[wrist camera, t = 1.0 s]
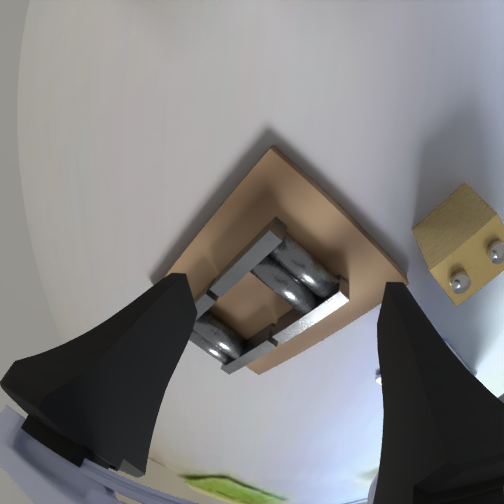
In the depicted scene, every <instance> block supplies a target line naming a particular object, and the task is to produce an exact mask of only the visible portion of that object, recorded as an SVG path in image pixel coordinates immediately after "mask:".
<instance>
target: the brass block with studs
mask: <svg viewBox="0 0 504 504" xmlns="http://www.w3.org/2000/svg"><path fill="white" fill-rule="evenodd" d="M412 231H413V233H414V235H415V238H416V240H417V242H418V245H419V247H420V250H421V252H422V254H423V257H424V259H425V262H426V264H427V267H428V270H429V272H430V273H431V274H432V275H433V277H434V278H435V279H436V280H437V282H438V283H439V284H440V286H441V287H442V288H443V289H444V291H445V292H446V293H447V295H448V296H449V297H450V299H451V300H452V301H453V303H454V304H455V306H458V305H459V304H460V303H462V302H463V301H465V300H466V299H467V298H469V297H470V296H471V295H473V294H474V293H475V292H477V291H478V290H479V289H481V288H482V287H483V286H485V285H486V284H487V283H488V282H490V281H491V280H492V279H493V278H495V277H496V276H497V275H498V274H500V273H501V272H502V271H503V270H504V226H503V224H502V222H501V220H500V218H499V216H498V214H497V213H496V212H495V211H494V210H493V209H492V208H491V207H490V206H489V205H488V204H487V203H486V202H485V201H484V200H483V199H482V198H481V197H480V196H479V195H478V194H477V193H476V192H475V191H474V190H473V189H471V188H470V187H469V186H468V185H467V184H466V183H464V184H463V185H462V186H460V187H459V188H458V189H457V190H456V191H455V192H454V193H453V194H452V195H450V196H449V197H448V198H447V199H446V200H445V201H444V202H443V203H441V204H440V205H439V206H438V207H437V208H436V209H435V210H433V211H432V212H431V213H430V214H429V215H428V216H426V217H425V218H424V219H423V220H422V221H421V222H419V223H418V224H417V225H416V226H415V227H413V228H412Z"/></svg>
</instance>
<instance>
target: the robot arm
mask: <svg viewBox="0 0 504 504" xmlns="http://www.w3.org/2000/svg"><path fill="white" fill-rule="evenodd" d="M197 314H198V312H197V309H196V306H195V302H194V299H193V296H192V292H191V289H190V286H189V282H188V279H187V275H186V273H171V274H169V275H167V276H166V277H165V278H163V279H162V280H160V281H159V282H158V283H156V284H155V285H154V286H152V287H151V288H150V289H149V290H147V291H146V292H145V293H143V294H142V295H141V296H139V297H138V298H137V299H135V300H134V301H133V302H132V303H130V304H129V305H127V306H126V307H125V308H123V309H122V310H120V311H119V312H118V313H116V314H115V315H113V316H112V317H111V318H109V319H108V320H106V321H105V322H103V323H101V324H100V325H98V326H97V327H95V328H93V329H92V330H90V331H88V332H86V333H85V334H83V335H81V336H79V337H77V338H75V339H73V340H71V341H69V342H67V343H65V344H63V345H60V346H58V347H56V348H53V349H51V350H48V351H46V352H43V353H41V354H38V355H35V356H31V357H27V358H24V359H21V360H17V361H15V362H14V363H13V364H12V366H11V367H10V369H9V370H8V371H7V373H6V374H5V376H4V377H3V379H2V380H1V381H0V385H1V387H2V389H3V390H4V391H5V392H6V393H7V394H8V395H9V396H10V397H11V398H12V399H13V400H14V401H15V402H16V403H17V404H18V405H19V406H20V407H21V408H22V409H23V410H24V411H25V412H26V413H27V414H29V415H28V416H27V418H26V419H25V418H24V417H23V416H21V415H20V414H19V413H17V412H16V411H14V410H13V409H12V408H11V407H10V406H8V405H5V407H4V409H3V411H2V412H1V413H0V466H1V468H2V469H3V470H4V471H5V472H6V473H7V475H8V476H9V477H10V478H11V480H12V481H13V482H14V483H15V484H16V485H17V487H18V488H19V489H20V490H21V491H22V492H23V493H24V494H25V496H26V497H27V498H28V499H29V500H30V501H31V502H32V503H33V504H127V503H124V502H122V501H120V500H118V499H117V498H116V496H115V493H114V491H116V492H118V493H120V494H122V495H124V496H126V497H128V498H131V499H133V500H135V501H138V502H140V503H142V504H198V503H195V502H191V501H188V500H185V499H181V498H178V497H175V496H172V495H169V494H166V493H163V492H160V491H158V490H155V489H152V488H150V487H147V486H144V485H141V484H139V483H137V482H134V481H132V480H129V479H127V478H125V477H123V476H120V475H118V474H116V473H114V472H112V471H109V470H108V468H111V469H113V470H115V471H118V470H120V471H123V472H125V473H127V474H130V475H132V476H135V477H141V476H143V475H145V472H146V465H147V459H148V453H149V448H150V443H151V439H152V435H153V430H154V426H155V423H156V419H157V416H158V412H159V409H160V406H161V402H162V399H163V396H164V393H165V390H166V388H167V385H168V383H169V381H170V378H171V376H172V374H173V372H174V370H175V368H176V366H177V364H178V362H179V359H180V357H181V355H182V353H183V351H184V349H185V347H186V345H187V343H188V340H189V338H190V336H191V333H192V330H193V327H194V324H195V321H196V317H197ZM377 342H378V357H379V365H380V374H379V375H377V376H376V382H377V383H379V384H380V385H381V386H382V393H383V408H384V418H383V437H382V448H381V458H380V466H379V472H378V474H377V475H376V477H375V478H374V480H373V481H372V483H371V486H370V489H369V494H368V504H504V403H503V402H501V401H500V400H499V399H498V398H497V397H496V396H494V395H493V394H492V393H491V392H490V391H489V390H488V389H487V388H486V387H485V386H484V385H483V384H482V383H481V382H480V381H479V380H478V379H477V378H476V377H475V376H474V375H473V374H472V372H471V371H470V370H469V369H468V367H467V366H466V365H465V364H464V362H463V361H462V360H461V359H460V357H459V356H458V355H457V354H456V352H455V351H454V350H453V349H452V347H451V346H450V345H449V344H448V343H447V341H445V340H443V339H442V338H441V336H440V335H439V334H438V332H437V331H436V329H435V328H434V327H433V325H432V324H431V322H430V321H429V320H428V318H427V317H426V315H425V314H424V312H423V311H422V309H421V308H420V306H419V305H418V303H417V302H416V300H415V299H414V297H413V296H412V294H411V293H410V291H409V290H408V288H407V287H406V286H405V284H404V283H403V282H386V285H385V290H384V295H383V300H382V305H381V309H380V314H379V318H378V322H377Z"/></svg>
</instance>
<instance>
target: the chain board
mask: <svg viewBox="0 0 504 504" xmlns="http://www.w3.org/2000/svg"><path fill="white" fill-rule="evenodd" d="M275 216H276V217H277V218H279V219H280V220H281V221H282V222H283V223H284V224H285V225H287V229H286V232H287V233H288V234H290V235H291V236H292V237H293V238H294V239H295V240H296V241H298V242H299V243H300V244H301V245H302V246H303V247H304V248H305V249H307V250H308V251H309V252H310V253H311V254H312V255H313V256H314V257H316V258H317V259H318V260H319V261H320V262H321V263H322V264H323V265H324V266H326V267H327V268H328V269H329V270H330V271H331V272H332V273H333V274H334V275H336V276H337V275H339V274H341V275H342V276H343V277H344V278H345V279H347V280H348V281H349V293H350V301H348V302H347V303H345V304H344V305H342V306H341V307H339V308H338V309H336V310H335V311H333V312H332V313H330V314H329V315H327V316H326V317H324V318H323V319H321V320H320V321H318V322H317V323H315V324H314V325H312V326H311V327H309V328H307V329H306V330H304V331H303V332H301V333H299V334H298V335H296V336H295V337H293V338H291V339H290V340H288V341H287V342H285V343H283V344H281V343H280V342H278V345H277V348H275V349H273V350H272V351H270V352H268V353H266V354H265V355H263V356H261V357H260V358H258V359H256V360H254V361H253V362H251V363H249V364H247V365H246V367H248V368H249V369H251V370H252V371H254V372H255V373H257V374H258V375H260V374H262V373H264V372H266V371H268V370H269V369H271V368H273V367H275V366H277V365H279V364H281V363H283V362H285V361H286V360H288V359H290V358H292V357H294V356H296V355H297V354H299V353H301V352H303V351H304V350H306V349H308V348H310V347H311V346H313V345H315V344H317V343H318V342H320V341H322V340H323V339H325V338H327V337H328V336H330V335H332V334H333V333H335V332H337V331H338V330H340V329H342V328H343V327H345V326H346V325H348V324H350V323H351V322H353V321H354V320H356V319H358V318H359V317H361V316H362V315H364V314H365V313H367V312H368V311H370V310H371V309H373V308H374V307H376V306H377V305H379V304H380V303H382V300H383V295H384V290H385V285H386V282H403V283H404V284H405V286H406V285H408V284H409V283H408V279H407V275H406V274H405V273H404V272H403V271H402V270H401V269H400V268H399V266H398V265H397V264H396V263H395V262H394V261H393V260H392V259H391V258H390V257H389V256H388V254H387V253H386V252H385V251H384V250H383V249H382V248H381V247H380V246H379V245H378V244H377V243H376V242H375V241H374V240H373V239H372V238H371V237H370V236H369V234H368V233H367V232H366V231H365V230H364V229H363V228H362V227H361V226H360V225H359V224H358V223H357V222H356V221H355V220H354V219H353V218H352V217H351V216H350V215H349V214H348V213H347V212H346V211H345V210H344V209H343V208H342V207H341V206H340V205H338V204H337V203H336V202H335V201H334V200H333V199H332V198H331V197H330V196H329V195H328V194H327V193H326V192H325V191H324V190H323V189H322V188H321V187H320V186H318V185H317V184H316V183H315V182H314V181H313V180H312V179H311V178H310V177H309V176H308V175H306V174H305V173H304V172H303V171H302V170H301V169H300V168H299V167H298V166H296V165H295V164H294V163H293V162H292V161H291V160H290V159H289V158H287V157H286V156H285V155H284V154H283V153H282V152H280V151H279V150H278V149H277V148H276V147H275V146H272V147H271V148H270V149H269V150H268V152H267V153H266V154H265V155H264V156H263V157H262V158H261V160H260V161H259V162H258V163H257V164H256V165H255V166H254V168H253V169H252V170H251V171H250V172H249V173H248V175H247V176H246V177H245V178H244V179H243V180H242V182H241V183H240V184H239V185H238V186H237V187H236V189H235V190H234V191H233V192H232V193H231V195H230V196H229V197H228V198H227V199H226V200H225V202H224V203H223V204H222V205H221V206H220V208H219V209H218V210H217V211H216V213H215V214H214V215H213V216H212V217H211V219H210V220H209V221H208V222H207V224H206V225H205V226H204V227H203V228H202V230H201V231H200V232H199V233H198V235H197V236H196V237H195V238H194V240H193V241H192V242H191V243H190V245H189V246H188V247H187V248H186V250H185V251H184V252H183V253H182V255H181V256H180V257H179V259H178V260H177V261H176V262H175V264H174V265H173V266H172V268H171V269H170V270H169V271H168V273H167V274H166V275H165V277H166V276H167V275H169V274H171V273H186V275H187V279H188V282H189V286H190V289H191V292H192V296H193V299H194V298H195V297H196V296H197V295H198V294H199V293H200V292H201V291H202V290H203V289H204V288H205V287H206V286H207V285H208V284H209V283H210V282H211V281H212V280H213V279H214V278H216V277H217V276H218V274H219V273H220V272H221V271H222V270H223V269H224V268H225V267H226V266H227V265H228V264H229V263H230V262H231V261H232V260H233V259H234V258H235V256H236V255H237V254H238V253H239V252H240V251H241V250H242V249H243V248H244V247H245V246H246V245H247V244H248V243H249V242H250V241H251V240H252V239H253V238H254V237H255V236H256V235H257V234H258V233H259V232H260V231H261V230H262V229H263V228H264V227H265V226H266V225H267V224H268V223H269V222H270V221H271V220H272V219H273V218H274V217H275ZM165 277H164V278H165ZM292 308H294V307H292V306H291V305H290V304H289V303H287V302H286V301H285V300H284V299H282V298H281V297H280V296H279V295H277V294H276V293H275V292H274V291H273V290H271V289H270V288H269V287H268V286H266V285H265V284H264V283H263V282H261V281H260V280H259V279H258V278H256V277H255V276H254V275H253V274H252V273H250V272H249V273H247V274H246V275H245V276H244V277H243V278H242V279H241V280H240V281H239V282H238V283H236V284H235V285H234V286H233V287H232V288H231V289H230V290H229V291H228V292H227V293H226V294H224V295H223V296H222V297H221V298H220V297H219V298H218V299H217V301H216V303H215V304H213V305H212V306H211V307H210V308H209V309H208V310H207V311H208V312H209V313H211V314H212V315H213V316H215V317H216V318H217V319H219V320H220V321H221V322H223V323H224V324H225V325H227V326H228V327H229V328H231V329H232V330H233V331H235V332H236V333H238V334H239V335H240V336H242V337H243V338H244V339H246V340H248V339H249V338H251V337H252V336H253V335H255V334H256V333H258V332H259V331H261V330H262V329H264V328H265V327H267V326H268V325H270V324H271V323H274V324H275V325H276V322H277V319H278V318H280V317H281V316H283V315H284V314H285V313H287V312H288V311H290V310H291V309H292Z"/></svg>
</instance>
